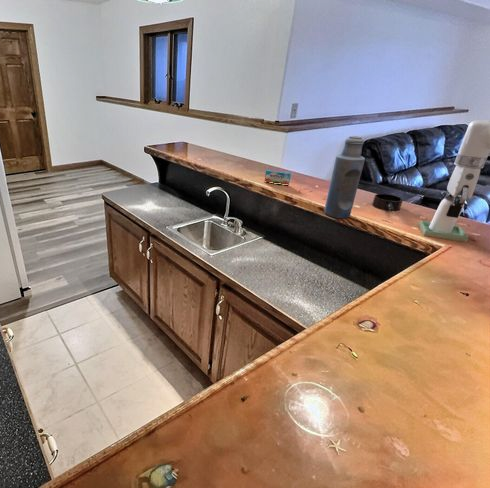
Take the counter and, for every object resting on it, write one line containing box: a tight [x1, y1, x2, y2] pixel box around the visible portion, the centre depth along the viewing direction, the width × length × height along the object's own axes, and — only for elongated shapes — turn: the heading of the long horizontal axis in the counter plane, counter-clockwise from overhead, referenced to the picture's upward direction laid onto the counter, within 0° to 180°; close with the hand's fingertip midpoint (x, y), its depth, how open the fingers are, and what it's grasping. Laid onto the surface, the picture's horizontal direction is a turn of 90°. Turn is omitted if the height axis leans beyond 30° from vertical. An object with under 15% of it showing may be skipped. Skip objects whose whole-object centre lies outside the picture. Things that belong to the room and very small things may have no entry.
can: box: [429, 196, 465, 234], centre depth 121 cm, size 6×6×12 cm
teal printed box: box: [264, 169, 292, 186], centre depth 174 cm, size 12×2×6 cm, turn 60°
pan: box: [371, 193, 404, 212], centre depth 143 cm, size 10×19×4 cm, turn 156°
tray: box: [418, 220, 469, 243], centre depth 123 cm, size 12×10×2 cm
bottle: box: [323, 135, 366, 219], centre depth 132 cm, size 10×10×30 cm
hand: (449, 212), depth 120 cm, fingers closed on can, 6 cm apart
